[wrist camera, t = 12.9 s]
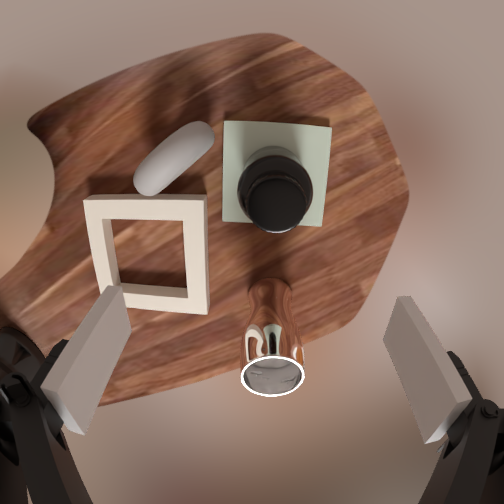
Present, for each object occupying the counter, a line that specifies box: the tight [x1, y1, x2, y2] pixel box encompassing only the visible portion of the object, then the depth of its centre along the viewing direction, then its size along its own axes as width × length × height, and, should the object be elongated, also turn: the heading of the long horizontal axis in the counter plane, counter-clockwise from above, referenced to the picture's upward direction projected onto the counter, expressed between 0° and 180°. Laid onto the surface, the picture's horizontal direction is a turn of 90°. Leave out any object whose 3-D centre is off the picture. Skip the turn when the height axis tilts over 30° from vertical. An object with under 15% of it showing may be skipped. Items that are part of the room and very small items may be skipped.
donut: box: [133, 121, 215, 196], centre depth 30 cm, size 10×3×10 cm, turn 129°
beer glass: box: [240, 278, 305, 396], centre depth 36 cm, size 7×7×15 cm
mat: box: [222, 121, 332, 226], centre depth 35 cm, size 12×12×1 cm
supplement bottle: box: [237, 146, 313, 233], centre depth 29 cm, size 7×7×12 cm
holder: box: [83, 194, 210, 315], centre depth 39 cm, size 16×16×2 cm
